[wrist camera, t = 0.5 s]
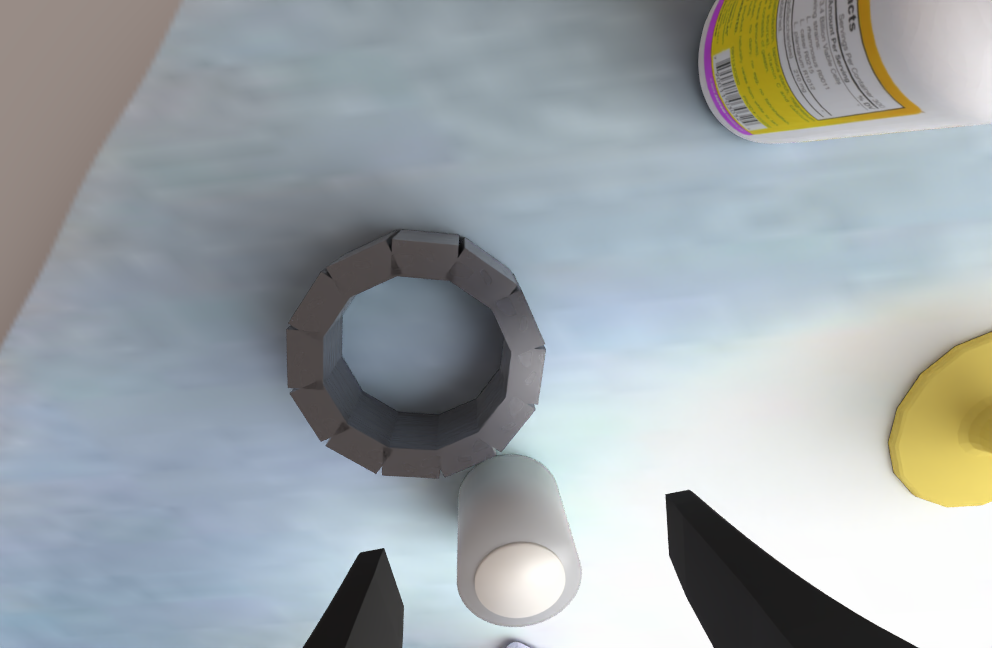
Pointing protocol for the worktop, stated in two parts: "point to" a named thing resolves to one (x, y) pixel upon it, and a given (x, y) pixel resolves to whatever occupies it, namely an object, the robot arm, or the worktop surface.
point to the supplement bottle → (846, 67)
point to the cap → (514, 543)
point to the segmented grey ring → (375, 426)
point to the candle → (948, 429)
